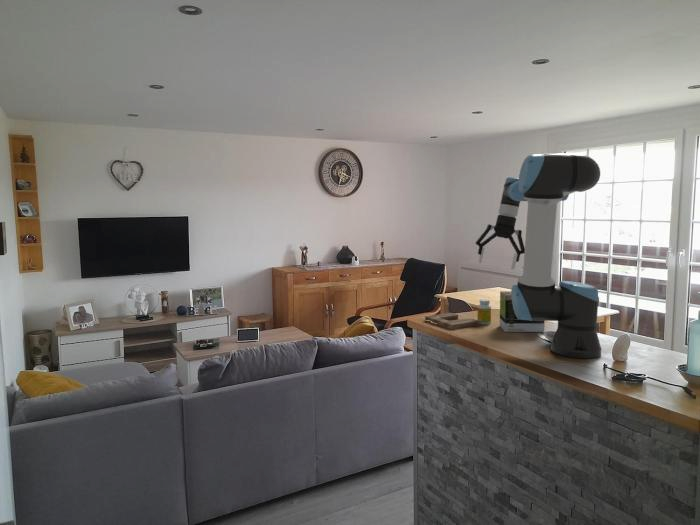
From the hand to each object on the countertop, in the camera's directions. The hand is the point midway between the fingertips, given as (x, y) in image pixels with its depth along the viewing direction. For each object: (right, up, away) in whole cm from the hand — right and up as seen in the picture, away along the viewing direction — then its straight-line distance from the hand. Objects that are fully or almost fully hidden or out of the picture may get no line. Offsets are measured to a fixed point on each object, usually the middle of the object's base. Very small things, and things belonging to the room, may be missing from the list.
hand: (496, 265), depth 204 cm
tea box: (+6, -25, -12) cm, 29 cm away
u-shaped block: (-19, -24, -2) cm, 31 cm away
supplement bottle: (-5, -24, -1) cm, 25 cm away
